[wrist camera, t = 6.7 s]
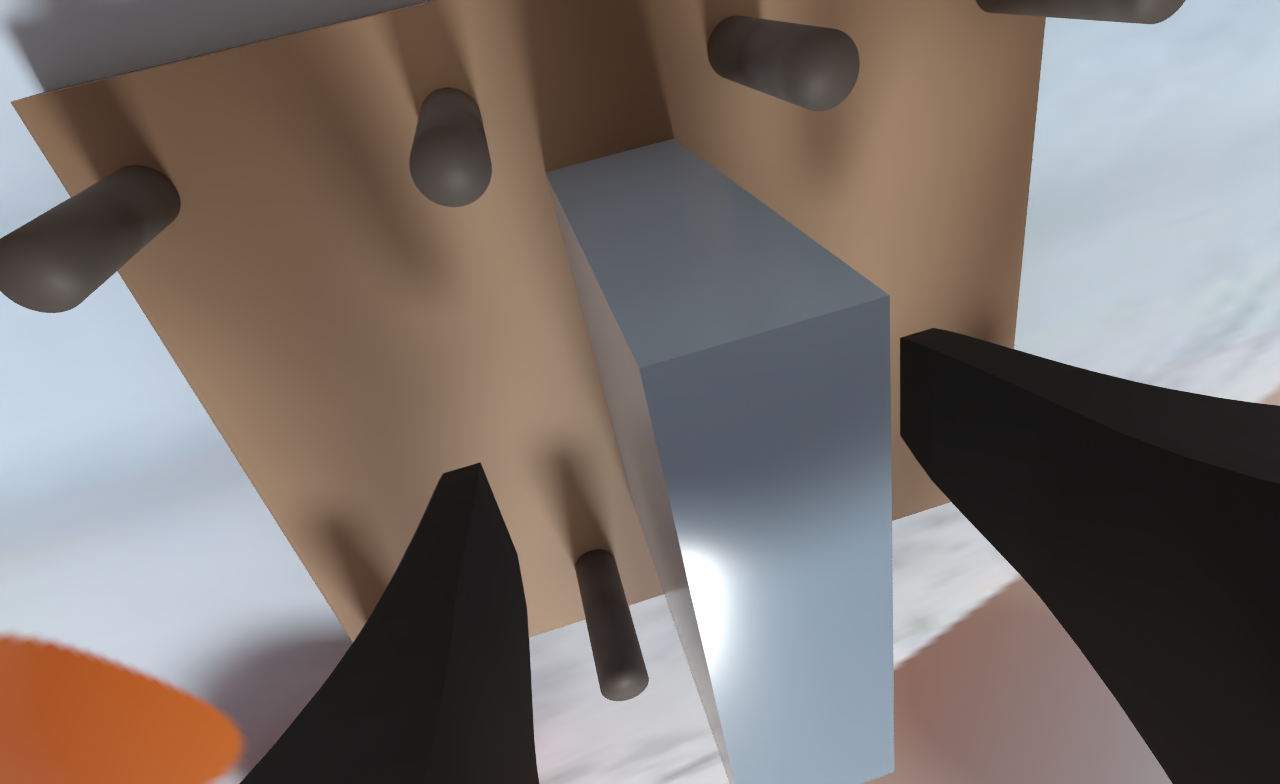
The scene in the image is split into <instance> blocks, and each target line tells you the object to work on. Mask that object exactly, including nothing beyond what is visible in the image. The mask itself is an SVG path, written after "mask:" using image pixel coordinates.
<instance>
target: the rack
mask: <svg viewBox="0 0 1280 784" xmlns="http://www.w3.org/2000/svg"><path fill="white" fill-rule="evenodd" d="M1184 2H1185V0H432V1H428V2H424V3H419V4H415V5H411V6H407V7H402V8H398V9H394V10H390V11H386V12H381V13H377V14H373V15H369V16H364V17H360V18H356V19H352V20H348V21H343V22H339V23H335V24H331V25H326V26H322V27H318V28H314V29H310V30H305V31H301V32H297V33H293V34H288V35H284V36H280V37H276V38H272V39H267V40H263V41H259V42H255V43H250V44H246V45H242V46H238V47H233V48H229V49H225V50H221V51H217V52H212V53H208V54H204V55H200V56H195V57H191V58H187V59H183V60H179V61H174V62H170V63H166V64H162V65H157V66H153V67H149V68H145V69H141V70H136V71H132V72H128V73H124V74H119V75H115V76H111V77H107V78H103V79H98V80H94V81H90V82H86V83H81V84H77V85H73V86H69V87H65V88H60V89H56V90H52V91H48V92H43V93H40V94H36V95H33V96H29V97H26V98H22V99H19V100H16V101H12V102H11V104H12V105H13V107H14V108H15V110H16V111H17V113H18V115H19V116H20V118H21V119H22V121H23V123H24V124H25V126H26V127H27V129H28V130H29V132H30V134H31V135H32V137H33V138H34V140H35V142H36V143H37V145H38V146H39V148H40V149H41V151H42V153H43V154H44V156H45V157H46V159H47V160H48V162H49V164H50V165H51V167H52V168H53V170H54V172H55V173H56V175H57V176H58V178H59V179H60V181H61V183H62V184H63V186H64V187H65V189H66V190H67V192H68V194H69V195H70V197H71V198H69V199H68V200H66V201H64V202H63V203H61V204H59V205H57V206H56V207H54V208H52V209H51V210H49V211H47V212H45V213H44V214H42V215H40V216H39V217H37V218H35V219H33V220H32V221H30V222H28V223H27V224H25V225H23V226H22V227H20V228H18V229H16V230H15V231H13V232H11V233H10V234H8V235H6V236H4V237H3V238H1V239H0V291H1V292H2V293H3V294H4V295H5V296H7V297H8V298H9V299H11V300H12V301H14V302H15V303H17V304H19V305H21V306H23V307H26V308H28V309H31V310H35V311H39V312H46V313H57V312H63V311H67V310H70V309H72V308H74V307H76V306H77V305H79V304H80V303H81V302H82V301H83V300H85V299H86V298H87V297H88V296H89V295H90V294H91V293H93V292H94V291H95V290H96V289H97V288H98V287H99V286H100V285H102V284H103V283H104V282H105V281H106V280H107V279H108V278H109V277H111V276H112V275H113V274H114V273H115V272H116V271H118V273H119V274H120V276H121V277H122V279H123V280H124V282H125V284H126V285H127V287H128V288H129V290H130V292H131V293H132V295H133V296H134V298H135V299H136V301H137V303H138V304H139V306H140V307H141V309H142V310H143V312H144V314H145V315H146V317H147V318H148V320H149V322H150V323H151V325H152V326H153V328H154V329H155V331H156V333H157V334H158V336H159V337H160V339H161V340H162V342H163V344H164V345H165V347H166V348H167V350H168V352H169V353H170V355H171V356H172V358H173V359H174V361H175V363H176V364H177V366H178V367H179V369H180V370H181V372H182V374H183V375H184V377H185V378H186V380H187V382H188V383H189V385H190V386H191V388H192V389H193V391H194V393H195V394H196V396H197V397H198V399H199V400H200V402H201V404H202V405H203V407H204V408H205V410H206V412H207V413H208V415H209V416H210V418H211V419H212V421H213V423H214V424H215V426H216V427H217V429H218V430H219V432H220V434H221V435H222V437H223V438H224V440H225V442H226V443H227V445H228V446H229V448H230V449H231V451H232V453H233V454H234V456H235V457H236V459H237V460H238V462H239V464H240V465H241V467H242V468H243V470H244V472H245V473H246V475H247V476H248V478H249V479H250V481H251V483H252V484H253V486H254V487H255V489H256V490H257V492H258V494H259V495H260V497H261V498H262V500H263V502H264V503H265V505H266V506H267V508H268V509H269V511H270V513H271V514H272V516H273V517H274V519H275V521H276V522H277V524H278V525H279V527H280V528H281V530H282V532H283V533H284V535H285V536H286V538H287V539H288V541H289V543H290V544H291V546H292V547H293V549H294V551H295V552H296V554H297V555H298V557H299V558H300V560H301V562H302V563H303V565H304V566H305V568H306V569H307V571H308V573H309V574H310V576H311V577H312V579H313V581H314V582H315V584H316V585H317V587H318V588H319V590H320V592H321V593H322V595H323V596H324V598H325V599H326V601H327V603H328V604H329V606H330V607H331V609H332V611H333V612H334V614H335V615H336V617H337V618H338V620H339V622H340V623H341V625H342V626H343V628H344V629H345V631H346V633H347V634H348V636H349V637H350V639H351V641H352V642H354V641H355V639H356V637H357V636H358V634H359V633H360V631H361V630H362V628H363V626H364V625H365V623H366V622H367V620H368V618H369V617H370V615H371V613H372V611H373V610H374V608H375V606H376V604H377V603H378V601H379V599H380V598H381V596H382V594H383V592H384V591H385V589H386V587H387V585H388V584H389V582H390V580H391V578H392V577H393V575H394V573H395V571H396V569H397V567H398V565H399V563H400V561H401V559H402V557H403V555H404V553H405V551H406V549H407V547H408V545H409V544H410V542H411V540H412V538H413V536H414V533H415V531H416V529H417V527H418V525H419V523H420V521H421V519H422V516H423V514H424V512H425V510H426V508H427V506H428V503H429V501H430V499H431V497H432V494H433V492H434V490H435V488H436V485H437V483H438V481H439V479H440V478H441V476H442V474H443V473H446V472H449V471H453V470H456V469H459V468H463V467H466V466H470V465H473V464H476V463H480V462H481V465H482V467H483V470H484V472H485V475H486V477H487V479H488V482H489V484H490V487H491V489H492V492H493V494H494V497H495V499H496V502H497V504H498V507H499V509H500V512H501V514H502V517H503V519H504V522H505V524H506V527H507V529H508V532H509V534H510V537H511V539H512V542H513V544H514V547H515V549H516V552H517V554H518V560H519V565H520V571H521V576H522V582H523V587H524V593H525V599H526V605H527V614H528V631H529V637H532V636H535V635H538V634H541V633H544V632H547V631H550V630H554V629H557V628H560V627H563V626H566V625H569V624H572V623H575V622H578V621H582V620H585V619H586V623H587V628H588V632H589V637H590V642H591V647H592V651H593V656H594V661H595V666H596V671H597V675H598V680H599V685H600V690H601V693H602V695H603V696H604V697H605V698H607V699H609V700H613V701H624V700H628V699H631V698H634V697H636V696H637V695H639V694H640V693H641V692H643V691H644V690H645V688H646V687H647V685H648V681H649V678H648V674H647V671H646V667H645V663H644V660H643V656H642V653H641V649H640V646H639V642H638V639H637V635H636V631H635V628H634V624H633V621H632V617H631V614H630V610H629V607H628V605H631V604H635V603H638V602H641V601H644V600H647V599H650V598H653V597H656V596H659V595H663V594H664V592H663V589H662V586H661V583H660V580H659V577H658V574H657V571H656V568H655V566H654V563H653V560H652V557H651V554H650V551H649V548H648V545H647V542H646V539H645V537H644V534H643V531H642V528H641V525H640V522H639V519H638V516H637V513H636V510H635V508H634V504H633V500H632V496H631V493H630V489H629V485H628V481H627V478H626V474H625V470H624V466H623V463H622V459H621V455H620V451H619V448H618V444H617V440H616V436H615V432H614V429H613V425H612V421H611V417H610V414H609V410H608V406H607V402H606V399H605V395H604V391H603V387H602V384H601V380H600V376H599V372H598V369H597V365H596V361H595V357H594V354H593V350H592V346H591V342H590V339H589V335H588V331H587V327H586V324H585V320H584V316H583V312H582V309H581V305H580V301H579V297H578V294H577V290H576V286H575V282H574V279H573V275H572V271H571V267H570V264H569V260H568V256H567V252H566V249H565V245H564V241H563V237H562V234H561V230H560V226H559V222H558V219H557V215H556V211H555V207H554V204H553V200H552V196H551V192H550V189H549V185H548V181H547V177H546V174H545V172H548V171H552V170H556V169H560V168H564V167H568V166H571V165H575V164H579V163H583V162H587V161H590V160H594V159H598V158H602V157H606V156H610V155H613V154H617V153H621V152H625V151H629V150H632V149H636V148H640V147H644V146H648V145H651V144H655V143H659V142H663V141H667V140H671V139H676V140H677V141H679V142H680V143H681V144H683V145H684V146H685V147H687V148H688V149H690V150H691V151H692V152H694V153H695V154H696V155H698V156H699V157H700V158H702V159H703V160H705V161H706V162H707V163H709V164H710V165H711V166H713V167H714V168H716V169H717V170H718V171H720V172H721V173H722V174H724V175H725V176H727V177H728V178H729V179H731V180H732V181H733V182H735V183H736V184H738V185H739V186H740V187H742V188H743V189H744V190H746V191H747V192H749V193H750V194H751V195H753V196H754V197H755V198H757V199H758V200H759V201H761V202H762V203H764V204H765V205H766V206H768V207H769V208H770V209H772V210H773V211H775V212H776V213H777V214H779V215H780V216H781V217H783V218H784V219H786V220H787V221H788V222H790V223H791V224H792V225H794V226H795V227H797V228H798V229H799V230H801V231H802V232H803V233H805V234H806V235H808V236H809V237H810V238H812V239H813V240H814V241H816V242H817V243H818V244H820V245H821V246H823V247H824V248H825V249H827V250H828V251H829V252H831V253H832V254H834V255H835V256H836V257H838V258H839V259H840V260H842V261H843V262H845V263H846V264H847V265H849V266H850V267H851V268H853V269H854V270H856V271H857V272H858V273H860V274H861V275H862V276H864V277H865V278H867V279H868V280H869V281H871V282H872V283H873V284H875V285H876V286H877V287H879V288H880V289H882V290H883V291H884V292H886V293H887V294H888V295H890V376H891V479H892V521H893V520H896V519H899V518H902V517H905V516H909V515H912V514H915V513H918V512H921V511H924V510H927V509H930V508H934V507H937V506H940V505H943V504H946V503H949V502H951V501H950V500H949V499H948V498H947V497H946V496H945V494H944V493H943V492H942V491H941V490H940V489H939V488H938V487H937V486H936V485H935V483H934V482H933V481H932V480H931V479H930V477H929V476H928V475H927V473H926V472H925V471H924V469H923V468H922V466H921V465H920V464H919V462H918V461H917V460H916V458H915V457H914V455H913V454H912V452H911V451H910V449H909V448H908V446H907V445H906V443H905V442H904V440H903V439H902V437H901V436H900V338H901V337H904V336H907V335H911V334H914V333H918V332H921V331H924V330H928V329H931V328H937V329H942V330H947V331H951V332H955V333H959V334H963V335H967V336H970V337H974V338H977V339H981V340H984V341H988V342H991V343H994V344H998V345H1001V346H1005V347H1008V348H1011V349H1014V339H1015V329H1016V319H1017V308H1018V298H1019V288H1020V277H1021V267H1022V256H1023V246H1024V236H1025V225H1026V215H1027V205H1028V194H1029V184H1030V174H1031V163H1032V153H1033V142H1034V132H1035V122H1036V111H1037V101H1038V91H1039V80H1040V70H1041V60H1042V49H1043V39H1044V28H1045V18H1046V17H1055V18H1069V19H1084V20H1098V21H1113V22H1127V23H1142V24H1155V23H1159V22H1162V21H1164V20H1166V19H1167V18H1169V17H1170V16H1172V15H1173V14H1174V13H1175V12H1176V11H1177V10H1178V9H1179V8H1180V7H1181V6H1182V4H1183V3H1184Z"/></svg>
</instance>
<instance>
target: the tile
mask: <svg viewBox="0 0 1280 784" xmlns="http://www.w3.org/2000/svg"><path fill="white" fill-rule="evenodd" d="M545 174H546V177H547V181H548V185H549V189H550V192H551V196H552V200H553V204H554V207H555V211H556V215H557V219H558V222H559V226H560V230H561V234H562V237H563V241H564V245H565V249H566V252H567V256H568V260H569V264H570V267H571V271H572V275H573V279H574V282H575V286H576V290H577V294H578V297H579V301H580V305H581V309H582V312H583V316H584V320H585V324H586V327H587V331H588V335H589V339H590V342H591V346H592V350H593V354H594V357H595V361H596V365H597V369H598V372H599V376H600V380H601V384H602V387H603V391H604V395H605V399H606V402H607V406H608V410H609V414H610V417H611V421H612V425H613V429H614V432H615V436H616V440H617V444H618V448H619V451H620V455H621V459H622V463H623V466H624V470H625V474H626V478H627V481H628V485H629V489H630V493H631V496H632V500H633V504H634V508H635V510H636V513H637V516H638V519H639V522H640V525H641V528H642V531H643V534H644V537H645V539H646V542H647V545H648V548H649V551H650V554H651V557H652V560H653V563H654V566H655V568H656V571H657V574H658V577H659V580H660V583H661V586H662V589H663V592H664V594H665V597H666V600H667V603H668V606H669V609H670V612H671V615H672V618H673V621H674V623H675V626H676V629H677V632H678V635H679V638H680V641H681V644H682V647H683V650H684V652H685V655H686V658H687V661H688V664H689V667H690V670H691V673H692V676H693V679H694V681H695V684H696V687H697V690H698V693H699V696H700V699H701V702H702V705H703V707H704V710H705V713H706V716H707V719H708V722H709V725H710V728H711V731H712V734H713V736H714V739H715V742H716V745H717V748H718V751H719V754H720V757H721V760H722V763H723V765H724V768H725V771H726V774H727V777H728V780H729V783H730V784H861V783H864V782H867V781H870V780H873V779H876V778H878V777H881V776H884V775H887V774H890V773H893V772H894V694H893V693H894V691H893V689H894V686H893V582H892V479H891V376H890V295H888V294H887V293H886V292H884V291H883V290H882V289H880V288H879V287H877V286H876V285H875V284H873V283H872V282H871V281H869V280H868V279H867V278H865V277H864V276H862V275H861V274H860V273H858V272H857V271H856V270H854V269H853V268H851V267H850V266H849V265H847V264H846V263H845V262H843V261H842V260H840V259H839V258H838V257H836V256H835V255H834V254H832V253H831V252H829V251H828V250H827V249H825V248H824V247H823V246H821V245H820V244H818V243H817V242H816V241H814V240H813V239H812V238H810V237H809V236H808V235H806V234H805V233H803V232H802V231H801V230H799V229H798V228H797V227H795V226H794V225H792V224H791V223H790V222H788V221H787V220H786V219H784V218H783V217H781V216H780V215H779V214H777V213H776V212H775V211H773V210H772V209H770V208H769V207H768V206H766V205H765V204H764V203H762V202H761V201H759V200H758V199H757V198H755V197H754V196H753V195H751V194H750V193H749V192H747V191H746V190H744V189H743V188H742V187H740V186H739V185H738V184H736V183H735V182H733V181H732V180H731V179H729V178H728V177H727V176H725V175H724V174H722V173H721V172H720V171H718V170H717V169H716V168H714V167H713V166H711V165H710V164H709V163H707V162H706V161H705V160H703V159H702V158H700V157H699V156H698V155H696V154H695V153H694V152H692V151H691V150H690V149H688V148H687V147H685V146H684V145H683V144H681V143H680V142H679V141H677V140H676V139H671V140H667V141H663V142H659V143H655V144H651V145H648V146H644V147H640V148H636V149H632V150H629V151H625V152H621V153H617V154H613V155H610V156H606V157H602V158H598V159H594V160H590V161H587V162H583V163H579V164H575V165H571V166H568V167H564V168H560V169H556V170H552V171H548V172H545Z"/></svg>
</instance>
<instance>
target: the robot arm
mask: <svg viewBox="0 0 1280 784" xmlns="http://www.w3.org/2000/svg"><path fill="white" fill-rule="evenodd" d="M900 436H901V437H902V439H903V440H904V442H905V443H906V445H907V446H908V448H909V449H910V451H911V452H912V454H913V455H914V457H915V458H916V460H917V461H918V462H919V464H920V465H921V466H922V468H923V469H924V471H925V472H926V473H927V475H928V476H929V477H930V479H931V480H932V481H933V482H934V483H935V485H936V486H937V487H938V488H939V489H940V490H941V491H942V492H943V493H944V494H945V496H946V497H947V498H948V499H949V500H950V501H951V502H952V503H953V504H954V505H955V506H956V507H957V508H958V509H959V511H960V512H961V513H962V514H963V515H964V516H965V517H966V518H967V519H968V520H969V521H970V522H971V523H972V524H973V525H974V526H975V527H976V528H977V530H978V531H979V532H980V533H981V534H982V535H983V536H984V537H985V538H986V539H987V540H988V541H989V542H990V543H991V544H992V545H993V546H994V547H995V548H996V550H997V551H998V552H999V553H1000V554H1001V555H1002V556H1003V557H1004V558H1005V559H1006V560H1007V561H1008V562H1009V563H1010V564H1011V565H1012V566H1013V567H1014V568H1015V570H1016V571H1017V572H1018V573H1019V574H1020V575H1021V576H1022V577H1023V578H1024V579H1025V580H1026V582H1028V584H1029V585H1030V586H1031V587H1032V588H1033V590H1034V591H1035V592H1036V593H1037V594H1038V595H1039V596H1040V598H1041V599H1042V600H1043V602H1044V603H1045V604H1046V605H1047V607H1048V608H1049V609H1050V611H1051V612H1052V613H1053V615H1054V616H1055V617H1056V618H1057V619H1058V621H1059V622H1060V624H1061V625H1062V626H1063V628H1064V629H1065V630H1066V631H1067V633H1068V634H1069V635H1070V637H1071V638H1072V639H1073V641H1074V642H1075V643H1076V644H1077V646H1078V647H1079V648H1080V650H1081V651H1082V653H1083V654H1084V655H1085V657H1086V658H1087V660H1088V661H1089V662H1090V664H1091V665H1092V666H1093V668H1094V669H1095V671H1096V672H1097V673H1098V675H1099V676H1100V677H1101V679H1102V680H1103V682H1104V683H1105V684H1106V686H1107V687H1108V688H1109V690H1110V691H1111V693H1112V694H1113V695H1114V697H1115V698H1116V700H1117V701H1118V702H1119V704H1120V705H1121V707H1122V708H1123V710H1124V711H1125V713H1126V714H1127V716H1128V717H1129V719H1130V720H1131V722H1132V723H1133V724H1134V726H1135V728H1136V729H1137V731H1138V732H1139V734H1140V735H1141V736H1142V738H1143V739H1144V741H1145V742H1146V744H1147V745H1148V747H1149V748H1150V750H1151V751H1152V753H1153V754H1154V756H1155V757H1156V759H1157V760H1158V761H1159V763H1160V765H1161V766H1162V768H1163V769H1164V770H1165V772H1166V774H1167V775H1168V777H1169V779H1170V780H1171V782H1172V783H1173V784H1280V406H1276V405H1267V404H1259V403H1251V402H1244V401H1237V400H1230V399H1223V398H1217V397H1212V396H1206V395H1200V394H1195V393H1189V392H1184V391H1178V390H1172V389H1167V388H1162V387H1157V386H1152V385H1148V384H1143V383H1138V382H1134V381H1130V380H1126V379H1122V378H1118V377H1113V376H1109V375H1105V374H1101V373H1097V372H1093V371H1089V370H1085V369H1082V368H1078V367H1074V366H1070V365H1067V364H1063V363H1060V362H1056V361H1052V360H1049V359H1045V358H1042V357H1039V356H1035V355H1032V354H1028V353H1025V352H1021V351H1018V350H1015V349H1011V348H1008V347H1005V346H1001V345H998V344H994V343H991V342H988V341H984V340H981V339H977V338H974V337H970V336H967V335H963V334H959V333H955V332H951V331H947V330H942V329H937V328H931V329H928V330H924V331H921V332H918V333H914V334H911V335H907V336H904V337H901V338H900ZM240 784H539V779H538V773H537V765H536V754H535V744H534V729H533V709H532V689H531V669H530V649H529V631H528V614H527V605H526V599H525V593H524V587H523V582H522V576H521V571H520V565H519V560H518V554H517V552H516V549H515V547H514V544H513V542H512V539H511V537H510V534H509V532H508V529H507V527H506V524H505V522H504V519H503V517H502V514H501V512H500V509H499V507H498V504H497V502H496V499H495V497H494V494H493V492H492V489H491V487H490V484H489V482H488V479H487V477H486V475H485V472H484V470H483V467H482V465H481V462H480V463H476V464H473V465H470V466H466V467H463V468H459V469H456V470H453V471H449V472H446V473H443V474H442V476H441V478H440V479H439V481H438V483H437V485H436V488H435V490H434V492H433V494H432V497H431V499H430V501H429V503H428V506H427V508H426V510H425V512H424V514H423V516H422V519H421V521H420V523H419V525H418V527H417V529H416V531H415V533H414V536H413V538H412V540H411V542H410V544H409V545H408V547H407V549H406V551H405V553H404V555H403V557H402V559H401V561H400V563H399V565H398V567H397V569H396V571H395V573H394V575H393V577H392V578H391V580H390V582H389V584H388V585H387V587H386V589H385V591H384V592H383V594H382V596H381V598H380V599H379V601H378V603H377V604H376V606H375V608H374V610H373V611H372V613H371V615H370V617H369V618H368V620H367V622H366V623H365V625H364V626H363V628H362V630H361V631H360V633H359V634H358V636H357V637H356V639H355V641H354V642H353V644H352V645H351V647H350V648H349V650H348V651H347V652H346V654H345V655H344V657H343V658H342V659H341V661H340V662H339V664H338V665H337V667H336V668H335V669H334V671H333V672H332V674H331V675H330V676H329V678H328V679H327V680H326V682H325V683H324V684H323V686H322V687H321V688H320V690H319V691H318V692H317V693H316V694H315V696H314V697H313V698H312V699H311V701H310V702H309V703H308V704H307V705H306V707H305V708H304V709H303V710H302V712H301V713H300V714H299V715H298V717H297V718H296V719H295V720H294V721H293V723H292V724H291V725H290V726H289V728H288V729H287V730H286V731H285V733H284V734H283V735H282V736H281V737H280V739H279V740H278V741H277V742H276V744H275V745H274V746H273V747H272V748H271V749H270V750H269V752H268V753H267V754H266V755H265V756H264V757H263V758H262V759H261V760H260V762H259V763H258V764H257V765H256V766H255V767H254V768H253V769H252V770H251V772H250V773H249V774H248V775H247V776H246V777H245V778H244V779H243V780H242V781H241V783H240Z"/></svg>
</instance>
